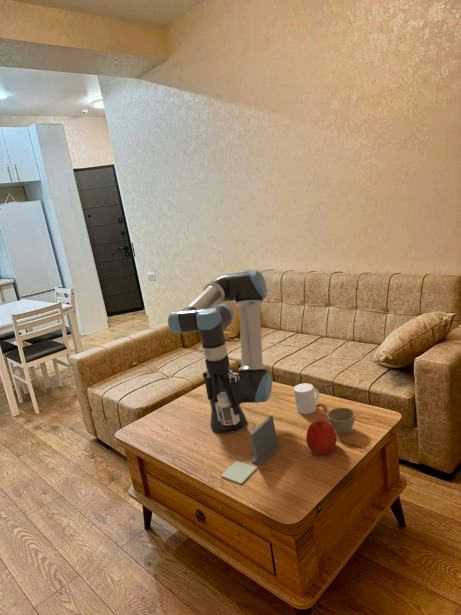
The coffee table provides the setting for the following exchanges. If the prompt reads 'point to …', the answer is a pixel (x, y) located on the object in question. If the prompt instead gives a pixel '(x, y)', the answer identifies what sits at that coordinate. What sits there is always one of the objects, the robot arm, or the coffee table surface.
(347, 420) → the flower pot
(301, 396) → the mug
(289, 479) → the coffee table surface
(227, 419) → the pill bottle
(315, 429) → the apple
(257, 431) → the screen
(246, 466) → the mat
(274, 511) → the coffee table surface
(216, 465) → the coffee table surface
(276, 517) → the coffee table surface
